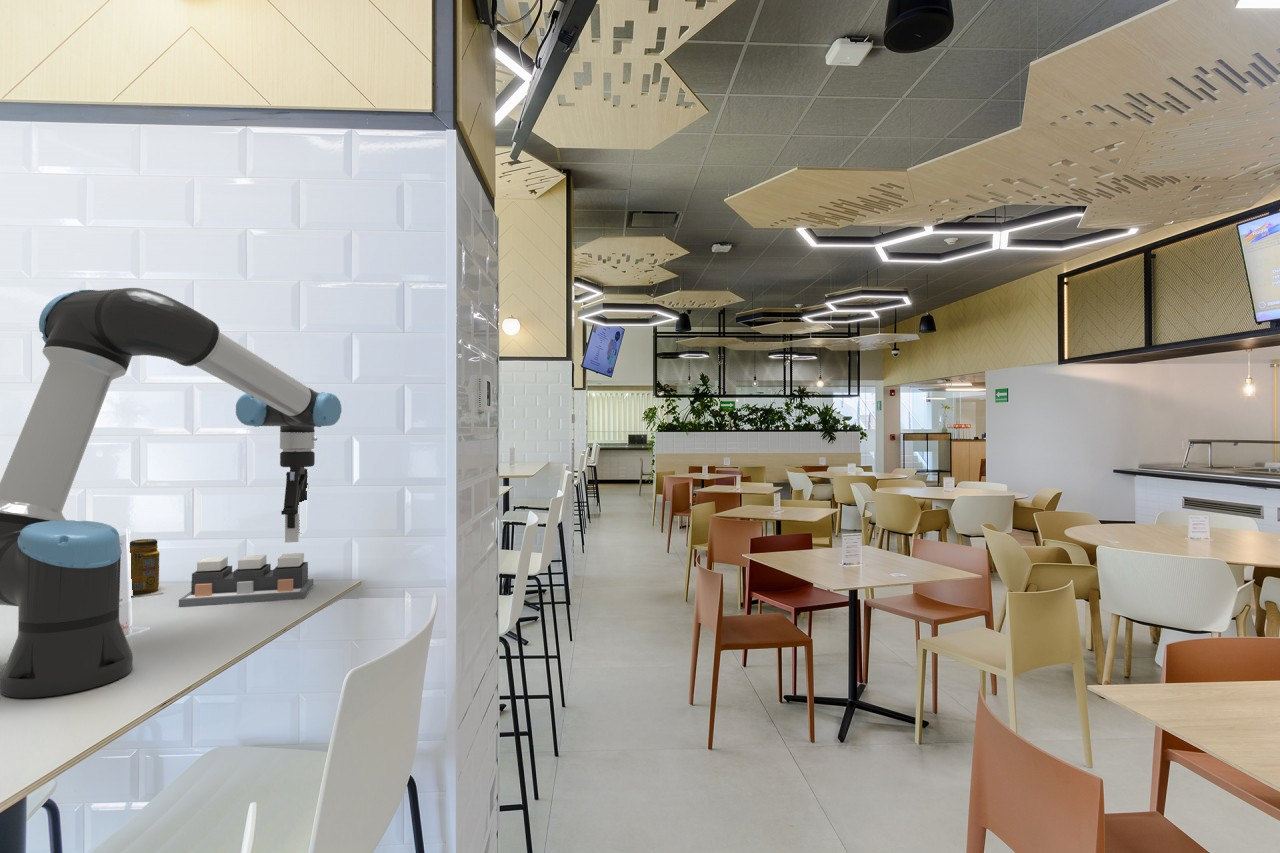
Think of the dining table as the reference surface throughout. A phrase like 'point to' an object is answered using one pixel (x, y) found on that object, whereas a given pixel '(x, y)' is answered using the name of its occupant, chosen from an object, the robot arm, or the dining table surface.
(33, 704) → the dining table surface
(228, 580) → the switch unit
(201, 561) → the button left
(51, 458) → the robot arm
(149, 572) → the condiment
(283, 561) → the button right
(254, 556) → the button mid
